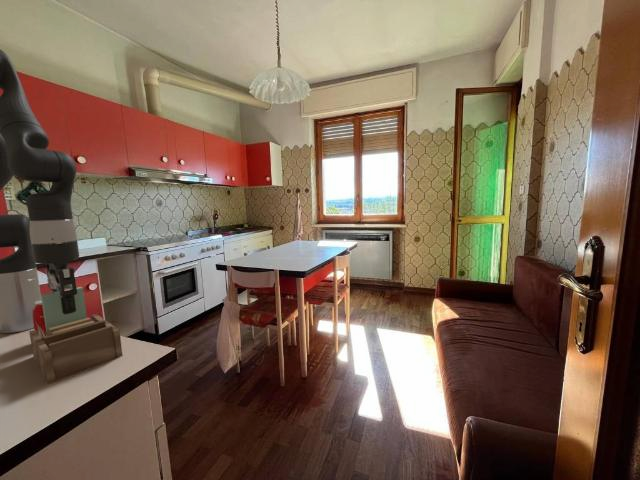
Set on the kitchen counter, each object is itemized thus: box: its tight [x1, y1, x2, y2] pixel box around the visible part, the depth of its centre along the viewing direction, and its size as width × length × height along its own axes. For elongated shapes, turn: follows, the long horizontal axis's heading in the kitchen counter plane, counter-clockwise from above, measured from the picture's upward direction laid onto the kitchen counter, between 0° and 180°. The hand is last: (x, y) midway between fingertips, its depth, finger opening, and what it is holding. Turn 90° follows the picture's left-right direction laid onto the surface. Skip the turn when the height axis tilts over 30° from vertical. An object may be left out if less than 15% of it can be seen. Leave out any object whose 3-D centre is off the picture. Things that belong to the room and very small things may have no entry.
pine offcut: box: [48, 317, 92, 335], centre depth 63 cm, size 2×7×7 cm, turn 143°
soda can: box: [32, 300, 47, 337], centre depth 70 cm, size 7×7×12 cm
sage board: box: [41, 286, 88, 336], centre depth 65 cm, size 2×7×14 cm, turn 143°
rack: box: [28, 313, 124, 385], centre depth 62 cm, size 16×12×8 cm
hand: (65, 309), depth 64 cm, fingers open, 8 cm apart
